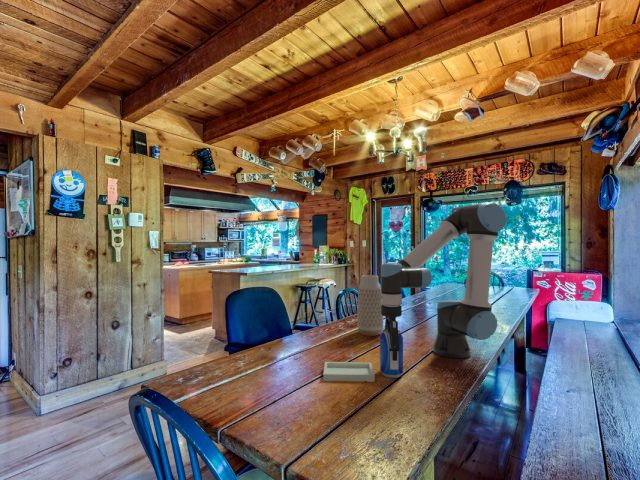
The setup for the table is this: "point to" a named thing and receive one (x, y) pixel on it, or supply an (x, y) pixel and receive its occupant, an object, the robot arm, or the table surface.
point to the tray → (348, 371)
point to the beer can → (385, 355)
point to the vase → (369, 306)
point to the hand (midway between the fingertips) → (391, 362)
